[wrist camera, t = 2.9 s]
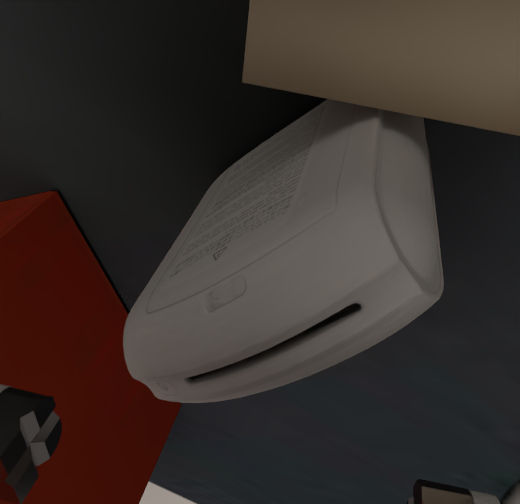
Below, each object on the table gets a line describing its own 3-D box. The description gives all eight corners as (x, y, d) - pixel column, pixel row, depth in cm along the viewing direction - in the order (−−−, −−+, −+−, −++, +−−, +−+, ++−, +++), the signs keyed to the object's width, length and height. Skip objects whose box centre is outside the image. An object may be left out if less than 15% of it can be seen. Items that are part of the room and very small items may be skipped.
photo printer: (254, 242, 25) (168, 457, 16) (201, 179, 24) (67, 373, 14) (443, 138, 20) (491, 360, 10) (389, 49, 19) (385, 210, 9)
